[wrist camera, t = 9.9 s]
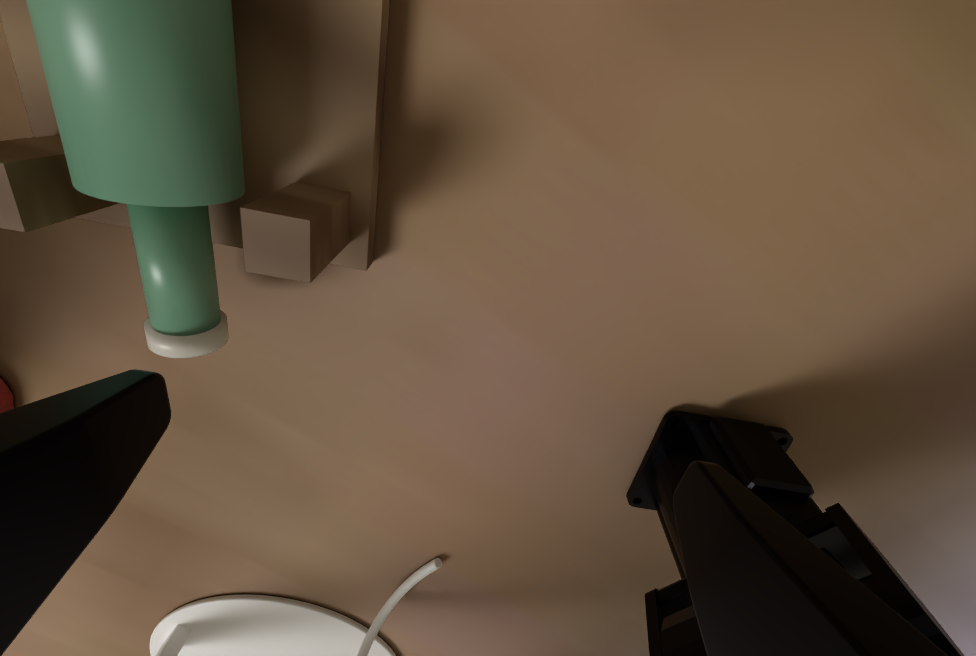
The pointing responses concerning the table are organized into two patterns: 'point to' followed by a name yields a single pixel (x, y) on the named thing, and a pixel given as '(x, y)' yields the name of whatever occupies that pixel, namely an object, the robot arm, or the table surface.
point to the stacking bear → (5, 397)
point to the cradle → (248, 137)
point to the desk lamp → (273, 627)
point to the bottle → (152, 140)
